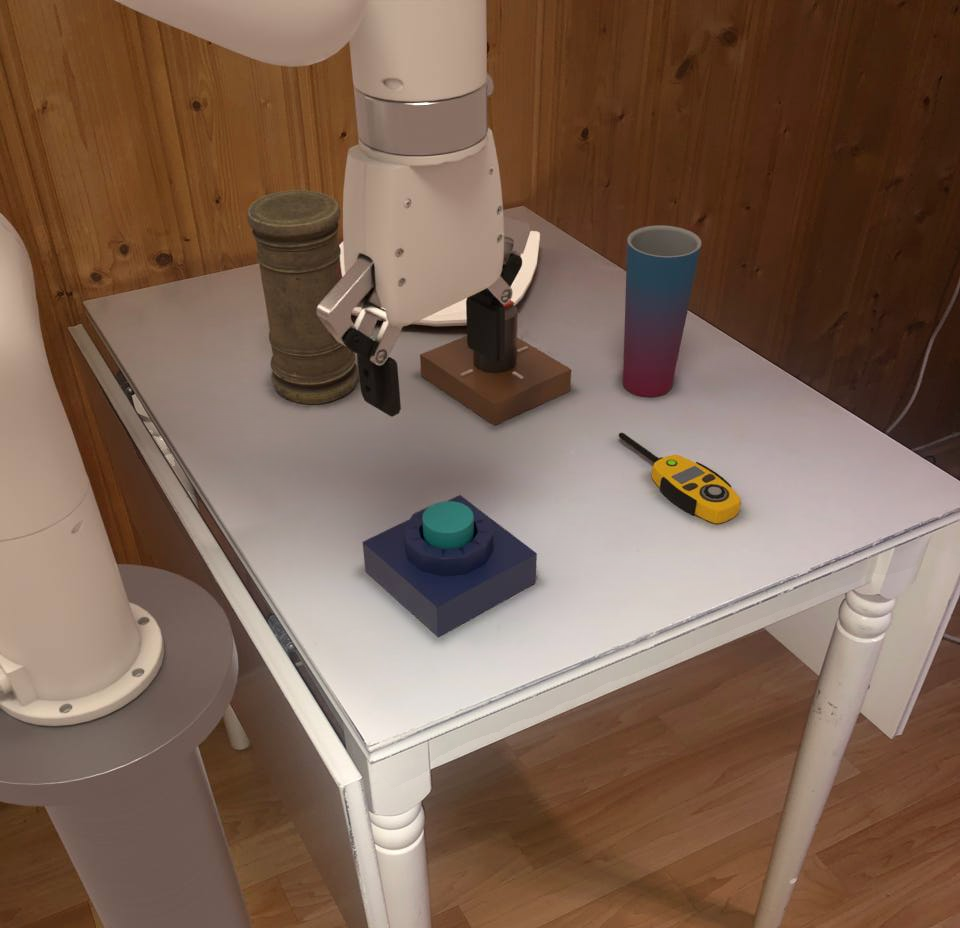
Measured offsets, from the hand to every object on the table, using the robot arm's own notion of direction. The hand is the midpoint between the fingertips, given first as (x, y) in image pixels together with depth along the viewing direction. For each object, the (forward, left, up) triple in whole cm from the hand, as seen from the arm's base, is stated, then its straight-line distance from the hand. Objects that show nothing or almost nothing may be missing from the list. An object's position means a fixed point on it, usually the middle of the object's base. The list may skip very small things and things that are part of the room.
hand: (435, 379), depth 72 cm
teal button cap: (+1, +1, -14) cm, 15 cm away
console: (+23, +22, -19) cm, 37 cm away
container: (+9, +34, -19) cm, 40 cm away
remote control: (+25, -1, -19) cm, 32 cm away
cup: (+35, +12, -19) cm, 42 cm away
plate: (+31, +44, -19) cm, 57 cm away
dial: (+23, +22, -16) cm, 36 cm away
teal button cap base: (+1, +1, -19) cm, 19 cm away
